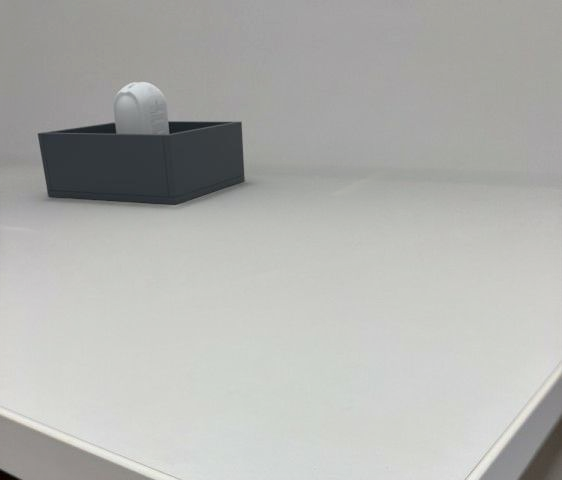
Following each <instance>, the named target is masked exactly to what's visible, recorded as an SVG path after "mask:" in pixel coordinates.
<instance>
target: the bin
mask: <svg viewBox="0 0 562 480" xmlns="http://www.w3.org/2000/svg"><path fill="white" fill-rule="evenodd" d="M242 123H243V122H242V121H211V120H209V121H207V120H206V121H205V120H204V121H197V120H196V121H195V120H194V121H192V120H191V121H190V120H189V121H184V120H180V121H179V120H174V121H173V120H168V124H169V134H167V135H166V134H116V126H115V121H114V122H108V123H101V124H100V123H99V124H92V125H87V126H85V125H84V126H78V127H71V128H65V129H58V130H57V129H56V130H51V131H45V132H44V131H43V132H38V133H37V137H38V144H39V150H40V155H41V156H40V157H41V162H42V168H43V173H44V179H45V185H46V192H47V197H48V198H49V197H50V198H63V199H66V198H67V199H81V200H94V201H95V200H97V201H111V202H129V203H142V204H143V203H145V204H160V205H174V206H176V205H178V204H181V203H185V202H188V201H190V200H193V199H196V198H198V197H199V198H200V197H202V196H205V195H207V194H210V193H213V192H216V191H220V190H223V189H225V188H226V189H227V188H228V187H230V186H234V185H237V184H240V183H243V182H245V181H246V179H245V162H244V160H245V159H244V144H243V142H244V141H243V124H242Z"/></svg>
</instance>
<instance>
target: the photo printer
mask: <svg viewBox="0 0 562 480" xmlns="http://www.w3.org/2000/svg"><path fill="white" fill-rule="evenodd" d="M113 116H114V122H115V126H116V134H166V135H167V134H169V124H168V121H169V114H168V105H167V100H166V96H165V95H164V93H163V92H162V91H161V90H160V89H159V88H158V87H157V86H156V85H154V84H152V83H149V82H146V81H140V82H139V81H136V82H135V81H134V82H130V83H128V84H126V85H125V86H123V87H122V88H121V89H120V90H118V92H117V93H116V95H115V97H114V100H113Z"/></svg>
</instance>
